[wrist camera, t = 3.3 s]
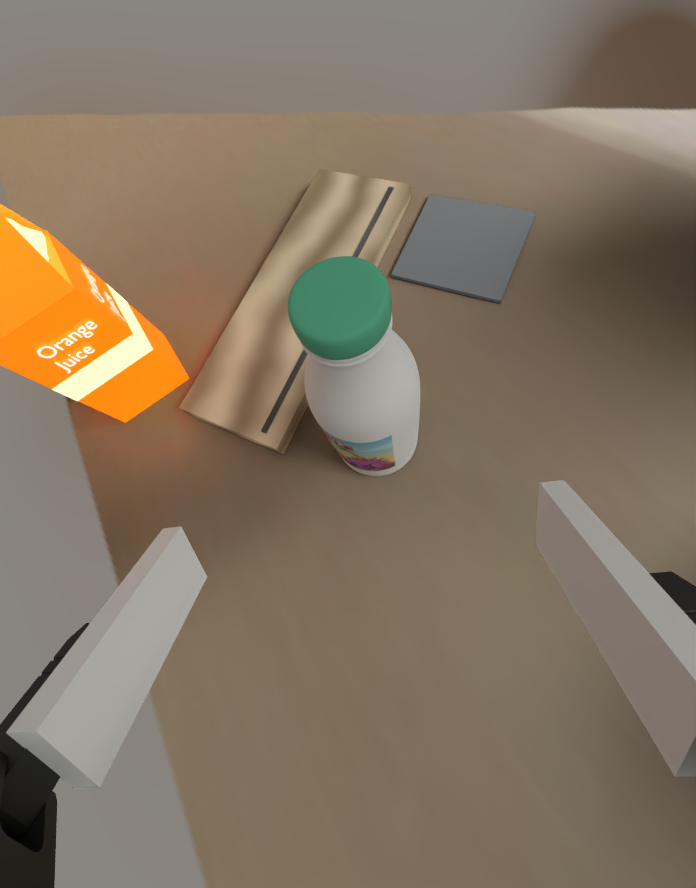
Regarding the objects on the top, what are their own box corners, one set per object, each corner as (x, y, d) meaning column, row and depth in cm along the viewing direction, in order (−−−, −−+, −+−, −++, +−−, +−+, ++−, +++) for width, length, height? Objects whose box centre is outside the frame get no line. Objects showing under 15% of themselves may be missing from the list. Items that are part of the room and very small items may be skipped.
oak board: (411, 200, 42) (411, 183, 40) (283, 455, 35) (276, 449, 33) (322, 185, 45) (318, 168, 43) (190, 415, 38) (178, 407, 36)
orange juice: (102, 376, 42) (-149, 230, 23) (164, 334, 42) (-34, 156, 23) (125, 424, 39) (-138, 305, 20) (190, 379, 39) (-9, 220, 21)
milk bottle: (376, 387, 35) (338, 198, 17) (435, 436, 33) (469, 279, 14) (321, 440, 35) (217, 307, 16) (377, 495, 32) (333, 413, 13)
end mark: (535, 215, 38) (536, 211, 38) (499, 303, 36) (500, 300, 35) (429, 197, 41) (430, 194, 41) (391, 277, 39) (390, 274, 39)
